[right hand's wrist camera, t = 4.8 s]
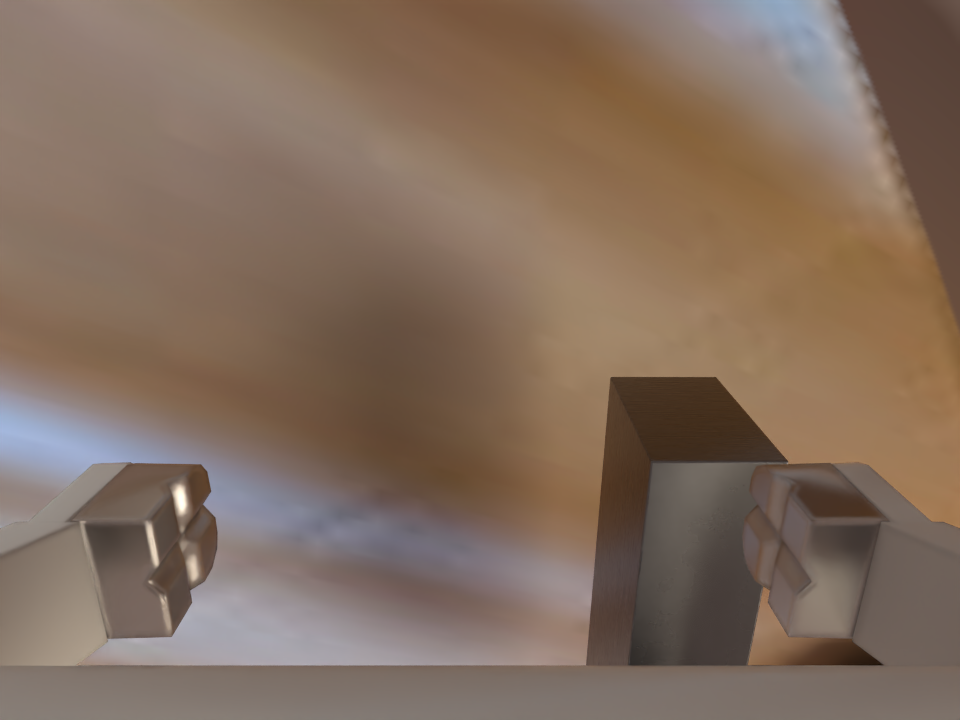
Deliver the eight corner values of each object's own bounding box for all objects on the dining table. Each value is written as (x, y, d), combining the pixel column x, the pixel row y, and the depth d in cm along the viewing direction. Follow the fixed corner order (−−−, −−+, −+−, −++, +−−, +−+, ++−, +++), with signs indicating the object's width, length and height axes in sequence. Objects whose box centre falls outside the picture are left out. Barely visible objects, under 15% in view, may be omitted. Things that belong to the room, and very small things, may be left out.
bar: (610, 376, 31) (651, 461, 24) (716, 376, 31) (789, 461, 24) (575, 782, 42) (597, 929, 34) (656, 782, 42) (695, 928, 34)
